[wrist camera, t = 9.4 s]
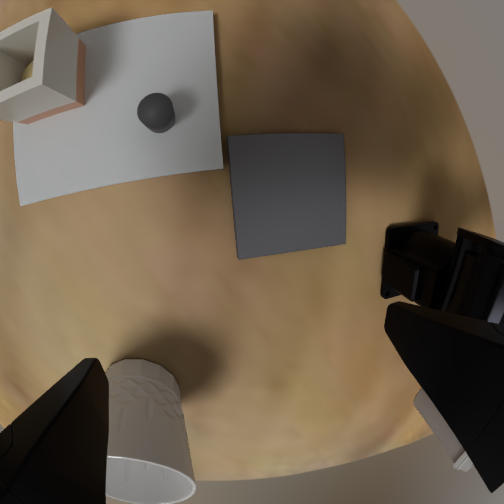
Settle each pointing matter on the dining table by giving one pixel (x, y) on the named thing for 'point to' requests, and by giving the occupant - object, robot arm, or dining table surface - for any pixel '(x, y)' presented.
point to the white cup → (146, 436)
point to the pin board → (129, 110)
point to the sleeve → (40, 68)
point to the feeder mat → (287, 192)
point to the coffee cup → (442, 431)
